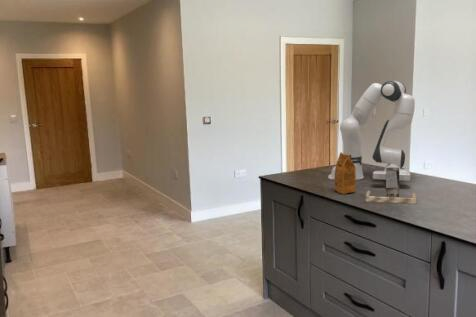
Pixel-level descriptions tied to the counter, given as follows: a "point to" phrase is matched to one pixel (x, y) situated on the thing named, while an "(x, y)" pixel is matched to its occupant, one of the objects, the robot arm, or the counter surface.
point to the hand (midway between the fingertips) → (390, 178)
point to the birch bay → (390, 199)
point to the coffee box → (392, 182)
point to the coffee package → (345, 175)
